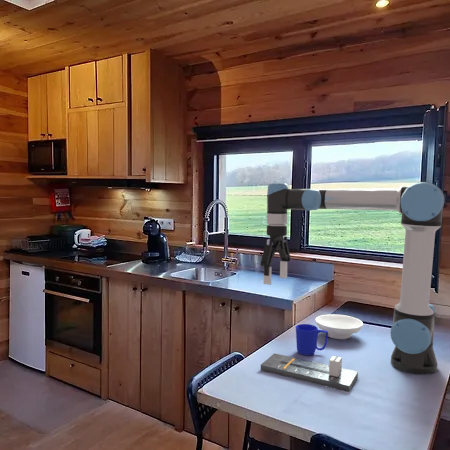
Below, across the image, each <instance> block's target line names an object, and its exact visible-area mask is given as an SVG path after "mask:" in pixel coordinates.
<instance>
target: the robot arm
mask: <svg viewBox="0 0 450 450" xmlns="http://www.w3.org/2000/svg"><path fill="white" fill-rule="evenodd" d="M445 201H446V199H445V194H444V192H443V191H442V189H441V188H440V187H438V186H437V185H436V184H434V183H431V182H427V181H421V182H420V181H419V182H415V183H413V184H411V185H401V186H400V187H399V188H396V189H395V188H370V189H369V188H368V189H367V188H363V189H362V188H358V189H357V188H349V189H348V188H347V189H346V188H344V189H343V188H337V189H336V188H334V189H333V188H331V189H330V188H329V189H327V188H326V189H325V188H324V189H323V188H289V186H288V184H287V183H269V184H268V186H267V193H266V203H267V205H266V214H267V215H266V216H265V217H266V224H267V225H266V235H267V236H269V238H266V239H265V240H264V248H263V252H262V256H261V259H260V266H261V267H263V285H267V286H268V285H269V286H270V285H272V266H271V265H272V262H273V259H274V256H275V255H276V253H278V255H279V257H280V262H279V263H280V264H279V267H280V268H279V278H280V279H288V262H290V261H291V254H290V249H289V244H288V237H287V235H288V226H287V224H288V210H297V211H300V210H301V211H308V212H309V211H317V210H357V211H359V210H361V211H393V212H394V211H397V212H398V213H399V214H401V217H400V218H401V219H400V225H401V226H402V227H403V228H404V229H405V235H404V247H403V260H402V271H401V272H402V273H401V283H400V284H401V285H400V296H399V302H398V303H397V304H395V305H394V309H393V310H394V311H393V322H392V325H391V328H390V330H389V331H390V332H389V333H390V338H391V341H392V343H393V345H394V349H393V351H392V354H391V356H390V365H391V366H393V367H394V368H395V369H397V370H398V371H402V372H405V373H409V374H414V375H426V376H427V375H432V374H435V373H437V371H438V366H439V365H438V360H437V358H436V354H435V351H434V350H435V349H434V334H435V332H434V331H435V316H436V307H435V305H433V304H431V303H430V297H431V296H430V295H431V284H432V275H433V274H432V273H433V260H434V252H435V251H434V248H435V239H436V232H437V230H440V228H441V227H442V222H443V221H442V220H443V209H444V205H445Z"/></svg>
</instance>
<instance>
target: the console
mask: <svg viewBox="0 0 450 450" xmlns="http://www.w3.org/2000/svg"><path fill="white" fill-rule="evenodd" d="M260 371H262V372H266V373H270V374H274V375H277V376H282V377H285V378H289V379H295V380H296V381H297V380H299V381H303V382H305V383H311V384H315V385H319V386H324V387H326V386H327V387H326V388H330V387H331V388H330V389H334V388H335V390H338V389H339V390H338V391H342V390H343V391H342V392H348V393H350V391H351V389H352V388H353V386H354V385H355V383H356V381H357V380H358V378H359V371H357V370H352V369H348V368H343V367H342V369H341V374H340V375H339V376H338V377H336V376H332V375H329V364H325V363H320V362H316V361H312V360H307V359H304V358H303V359H302V358H297V357H294V356H288V355H284V354H280V353H273V354H271V355H270V356H269V357H268V358H267V359H266V360H264V361H263V362H262V363H261V364H260Z"/></svg>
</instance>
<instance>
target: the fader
mask: <svg viewBox="0 0 450 450" xmlns="http://www.w3.org/2000/svg"><path fill="white" fill-rule="evenodd" d="M342 363H343V357H340V356H337V355H335V356H334V355H332V356H331V358H330V359H329V363H328V365H329V375H332V376H336V377H338V376H339V375H340V374H341V369H342V368H343V367H342Z"/></svg>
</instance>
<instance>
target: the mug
mask: <svg viewBox="0 0 450 450" xmlns="http://www.w3.org/2000/svg"><path fill="white" fill-rule="evenodd" d="M320 333H324V334H325V341H324V344H323V346H322V347H320V348H319V347H318V345H317V344H318V338H319V337H318V336H319V334H320ZM328 337H329V336H328V331H325V330H322V329H319V327H318V326H317V325H313V324H309V323H302V324H301V323H300V324H297V325H296V326H295V338H296V339H295V340H296V341H295V342H296V351H297V353H298V354H299V355H303V356H313V355H314V354H315V353H316V350H318V351H324V350H325V348H326V347H327V344H328Z"/></svg>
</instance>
